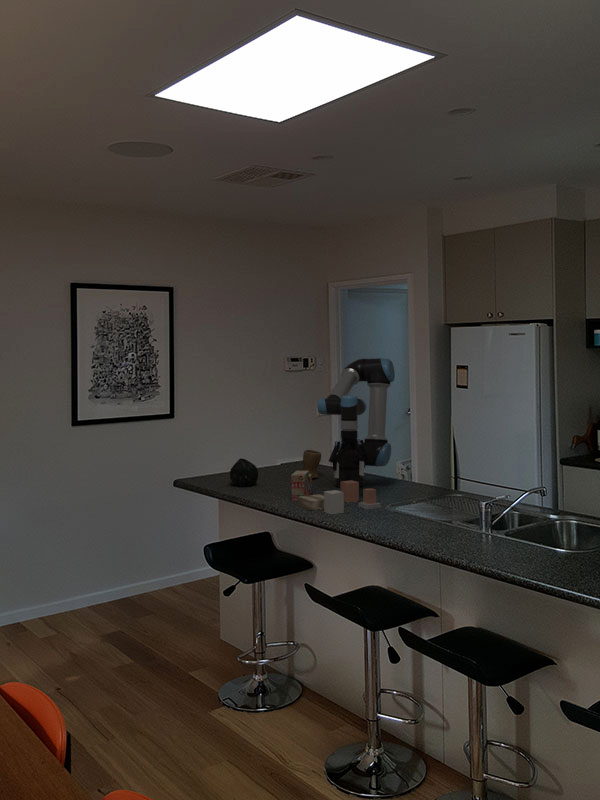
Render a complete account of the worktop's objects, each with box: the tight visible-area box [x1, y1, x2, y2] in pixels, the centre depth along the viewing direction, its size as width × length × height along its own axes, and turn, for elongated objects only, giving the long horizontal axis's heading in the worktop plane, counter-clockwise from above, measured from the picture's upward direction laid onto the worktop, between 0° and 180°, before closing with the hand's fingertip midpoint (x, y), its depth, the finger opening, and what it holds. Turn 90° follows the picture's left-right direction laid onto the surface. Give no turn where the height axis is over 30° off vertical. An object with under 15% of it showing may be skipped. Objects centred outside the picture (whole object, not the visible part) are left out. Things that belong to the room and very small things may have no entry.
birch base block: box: [296, 493, 324, 511], centre depth 332 cm, size 12×12×4 cm
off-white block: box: [323, 489, 345, 515], centre depth 319 cm, size 6×6×9 cm
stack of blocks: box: [290, 470, 313, 502], centre depth 356 cm, size 21×6×12 cm, turn 170°
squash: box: [229, 458, 259, 487], centre depth 387 cm, size 14×15×15 cm
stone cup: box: [297, 449, 322, 479], centre depth 409 cm, size 15×12×15 cm
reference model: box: [358, 487, 382, 511], centre depth 329 cm, size 7×7×8 cm
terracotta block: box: [339, 480, 360, 504], centre depth 343 cm, size 6×6×9 cm
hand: (349, 476), depth 343 cm, fingers open, 13 cm apart
